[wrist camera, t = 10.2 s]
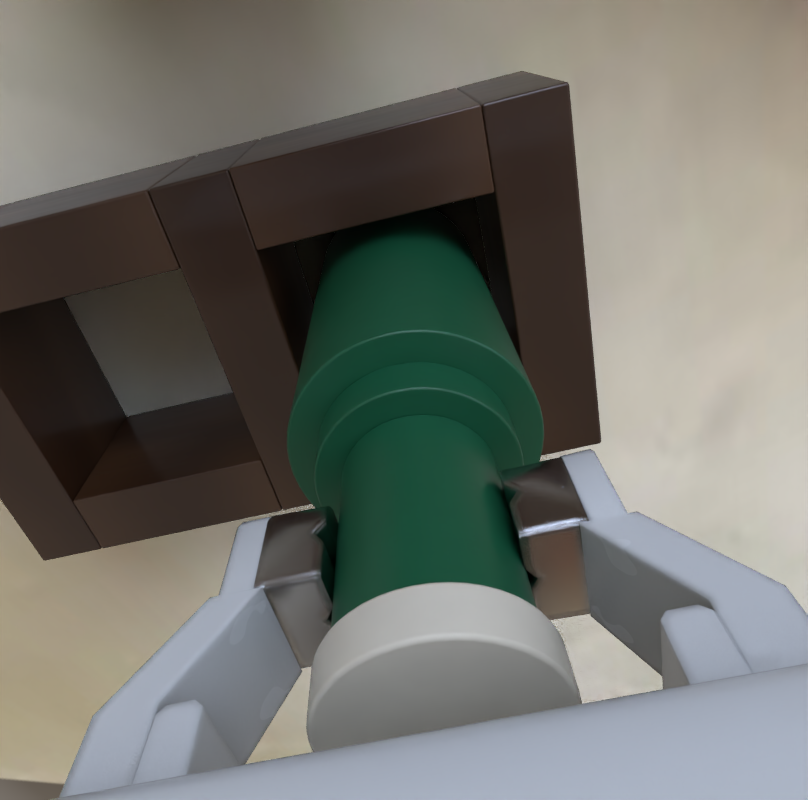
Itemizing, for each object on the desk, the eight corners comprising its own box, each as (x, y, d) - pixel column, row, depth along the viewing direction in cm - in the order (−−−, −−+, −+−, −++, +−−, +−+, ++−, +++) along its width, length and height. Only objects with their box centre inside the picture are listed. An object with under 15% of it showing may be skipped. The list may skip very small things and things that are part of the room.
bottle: (346, 361, 23) (303, 869, 9) (302, 221, 20) (150, 627, 6) (485, 329, 22) (668, 809, 8) (459, 183, 20) (656, 527, 6)
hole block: (100, 469, 25) (43, 561, 21) (-46, 217, 20) (-163, 268, 16) (559, 368, 24) (602, 443, 19) (523, 70, 19) (569, 81, 14)
